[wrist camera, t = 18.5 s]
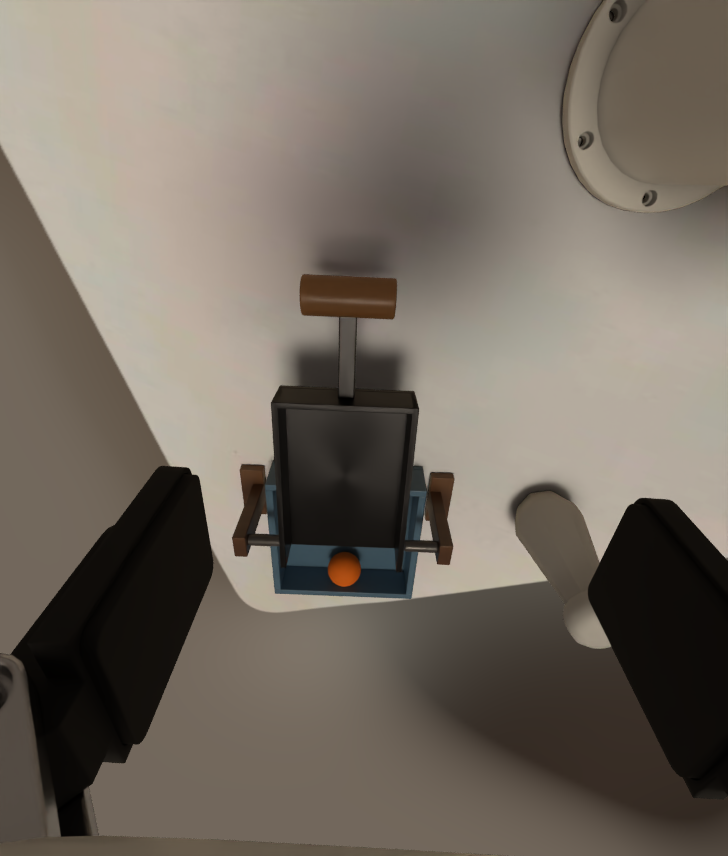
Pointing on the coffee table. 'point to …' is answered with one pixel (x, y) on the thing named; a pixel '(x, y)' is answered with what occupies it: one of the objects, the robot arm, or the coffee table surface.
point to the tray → (377, 564)
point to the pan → (344, 437)
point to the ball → (344, 569)
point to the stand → (440, 545)
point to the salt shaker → (563, 559)
